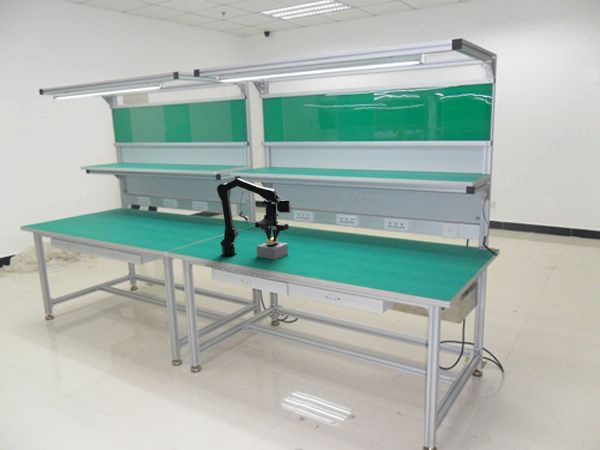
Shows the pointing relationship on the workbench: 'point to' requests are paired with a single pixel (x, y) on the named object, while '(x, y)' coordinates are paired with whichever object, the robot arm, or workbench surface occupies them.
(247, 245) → the workbench surface
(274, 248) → the slot box
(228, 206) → the robot arm
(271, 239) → the tall cream wooden block
